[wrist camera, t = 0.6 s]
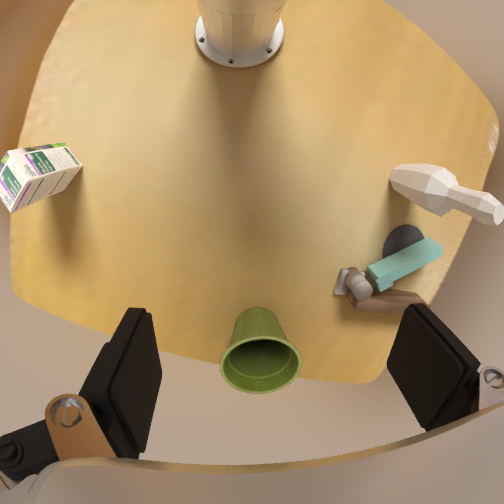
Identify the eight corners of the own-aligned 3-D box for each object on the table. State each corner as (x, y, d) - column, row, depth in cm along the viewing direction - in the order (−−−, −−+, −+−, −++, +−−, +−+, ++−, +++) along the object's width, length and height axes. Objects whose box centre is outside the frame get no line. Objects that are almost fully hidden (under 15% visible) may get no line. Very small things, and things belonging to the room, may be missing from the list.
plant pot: (253, 281, 47) (259, 322, 36) (302, 320, 50) (318, 362, 40) (207, 326, 50) (203, 371, 39) (257, 359, 53) (262, 403, 42)
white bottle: (401, 152, 40) (502, 171, 20) (421, 179, 42) (518, 213, 21) (378, 179, 42) (474, 215, 21) (400, 205, 43) (492, 254, 23)
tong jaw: (364, 267, 46) (378, 282, 41) (427, 236, 45) (445, 247, 39) (366, 277, 47) (380, 292, 41) (429, 246, 45) (446, 258, 40)
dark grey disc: (392, 219, 44) (393, 220, 44) (429, 230, 45) (430, 231, 45) (376, 268, 47) (377, 269, 47) (413, 275, 49) (414, 276, 48)
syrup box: (84, 165, 38) (28, 179, 25) (64, 191, 39) (9, 215, 26) (64, 142, 36) (6, 148, 23) (45, 168, 37) (-12, 184, 24)
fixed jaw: (342, 265, 47) (355, 281, 41) (421, 279, 49) (438, 293, 43) (333, 291, 48) (344, 310, 43) (411, 301, 51) (426, 317, 45)
